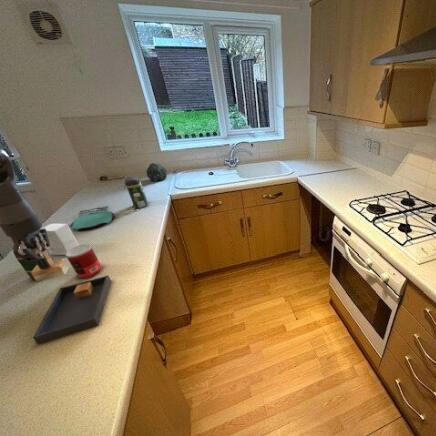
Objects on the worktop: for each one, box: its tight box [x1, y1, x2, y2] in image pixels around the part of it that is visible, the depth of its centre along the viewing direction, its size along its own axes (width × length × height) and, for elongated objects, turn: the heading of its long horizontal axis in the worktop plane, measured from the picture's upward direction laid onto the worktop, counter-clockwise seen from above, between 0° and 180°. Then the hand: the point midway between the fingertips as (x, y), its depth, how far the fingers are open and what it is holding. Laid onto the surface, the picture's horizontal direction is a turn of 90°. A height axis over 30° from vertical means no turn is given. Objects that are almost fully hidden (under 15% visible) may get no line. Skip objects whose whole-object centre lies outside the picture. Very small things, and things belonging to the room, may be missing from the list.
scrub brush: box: [31, 250, 70, 282], centre depth 75 cm, size 7×4×9 cm, turn 115°
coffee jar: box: [124, 175, 149, 209], centre depth 148 cm, size 10×8×19 cm
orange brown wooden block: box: [74, 282, 94, 299], centre depth 85 cm, size 4×4×3 cm
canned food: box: [65, 243, 102, 279], centre depth 94 cm, size 8×8×11 cm
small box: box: [41, 223, 80, 256], centre depth 107 cm, size 8×6×13 cm
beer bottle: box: [10, 237, 37, 281], centre depth 90 cm, size 8×8×24 cm
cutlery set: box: [70, 205, 115, 231], centre depth 138 cm, size 20×30×2 cm, turn 33°
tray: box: [32, 275, 112, 345], centre depth 80 cm, size 15×22×3 cm
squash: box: [146, 162, 168, 182], centre depth 194 cm, size 14×15×15 cm
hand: (47, 264), depth 75 cm, fingers closed on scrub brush, 2 cm apart
